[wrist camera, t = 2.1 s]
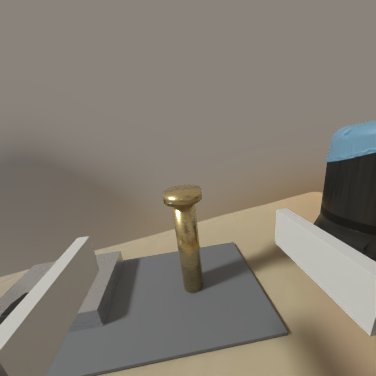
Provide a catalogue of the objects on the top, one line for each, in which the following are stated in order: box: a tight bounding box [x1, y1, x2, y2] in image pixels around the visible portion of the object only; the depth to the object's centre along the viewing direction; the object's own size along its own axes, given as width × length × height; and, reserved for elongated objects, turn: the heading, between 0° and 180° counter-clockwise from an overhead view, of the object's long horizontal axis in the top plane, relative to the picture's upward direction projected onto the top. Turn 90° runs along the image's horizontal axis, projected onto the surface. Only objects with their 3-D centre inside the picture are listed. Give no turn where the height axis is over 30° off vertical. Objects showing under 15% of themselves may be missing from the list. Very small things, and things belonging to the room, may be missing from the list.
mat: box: [46, 242, 288, 376], centre depth 28 cm, size 39×18×1 cm, turn 96°
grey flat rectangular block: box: [0, 251, 124, 333], centre depth 28 cm, size 16×12×3 cm
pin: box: [162, 185, 203, 293], centre depth 26 cm, size 5×5×16 cm
